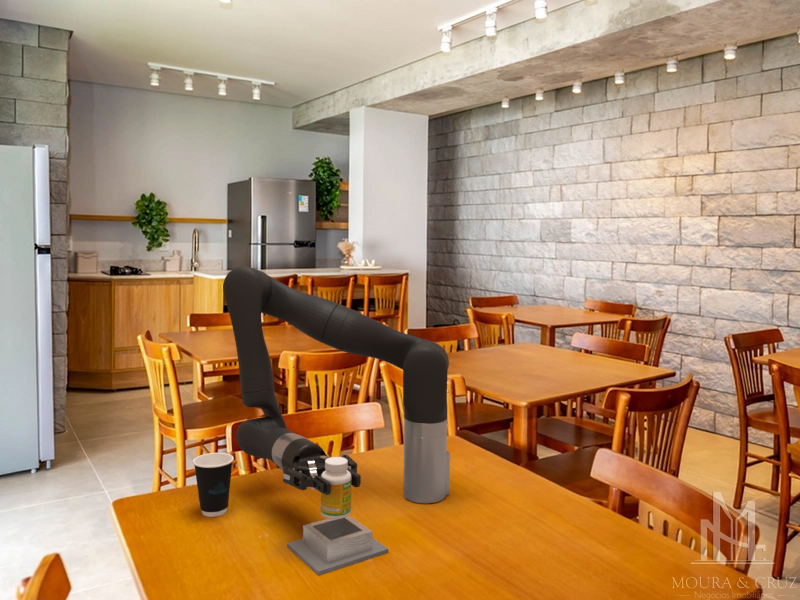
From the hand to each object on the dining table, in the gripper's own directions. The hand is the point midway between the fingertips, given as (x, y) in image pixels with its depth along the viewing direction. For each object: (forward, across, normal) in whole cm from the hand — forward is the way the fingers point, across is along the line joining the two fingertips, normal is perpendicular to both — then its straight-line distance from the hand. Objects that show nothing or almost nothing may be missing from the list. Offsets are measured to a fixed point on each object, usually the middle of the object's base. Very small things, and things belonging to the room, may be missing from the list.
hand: (343, 485), depth 115 cm
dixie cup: (-30, -12, +14) cm, 35 cm away
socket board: (-2, 0, +13) cm, 13 cm away
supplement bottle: (-3, 0, +6) cm, 7 cm away
